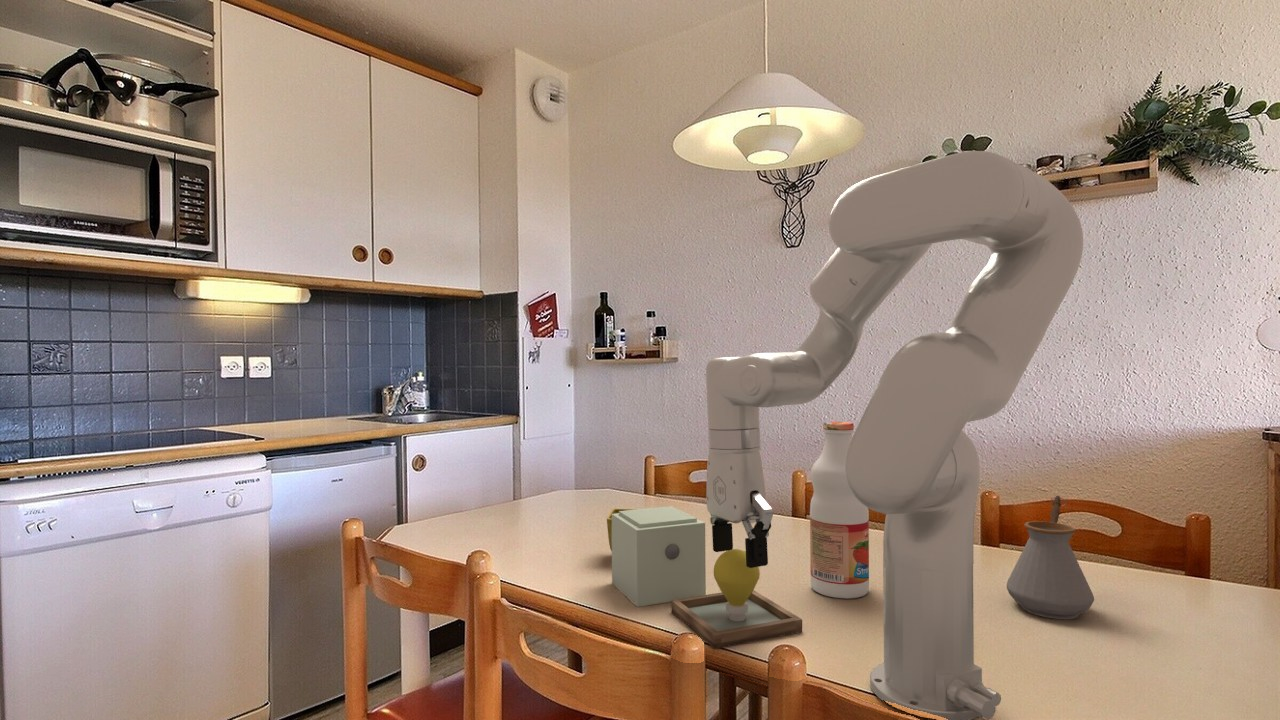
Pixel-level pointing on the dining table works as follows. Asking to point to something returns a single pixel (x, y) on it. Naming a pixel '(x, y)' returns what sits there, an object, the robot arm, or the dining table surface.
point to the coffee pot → (1050, 572)
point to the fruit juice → (837, 522)
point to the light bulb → (735, 581)
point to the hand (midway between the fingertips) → (739, 558)
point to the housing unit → (658, 555)
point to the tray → (720, 631)
